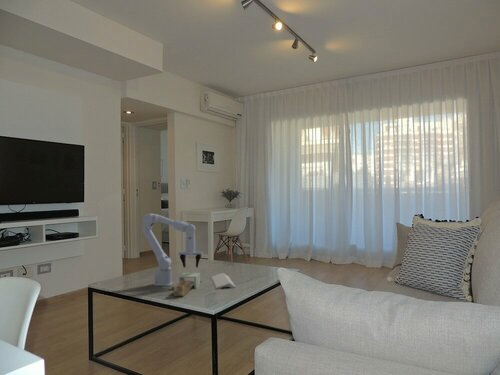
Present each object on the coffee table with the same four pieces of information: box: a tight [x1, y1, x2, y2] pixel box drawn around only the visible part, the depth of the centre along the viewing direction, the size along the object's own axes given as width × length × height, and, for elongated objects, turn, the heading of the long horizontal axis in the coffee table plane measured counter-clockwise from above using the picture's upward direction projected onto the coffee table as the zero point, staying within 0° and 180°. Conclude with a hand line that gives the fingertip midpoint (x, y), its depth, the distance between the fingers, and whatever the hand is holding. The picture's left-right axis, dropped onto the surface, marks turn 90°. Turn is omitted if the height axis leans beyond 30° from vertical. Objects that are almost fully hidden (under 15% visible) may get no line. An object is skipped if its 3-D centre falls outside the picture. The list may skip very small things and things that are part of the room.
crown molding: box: [210, 272, 237, 290], centre depth 215 cm, size 29×12×4 cm, turn 12°
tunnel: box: [178, 272, 201, 289], centre depth 207 cm, size 10×10×7 cm
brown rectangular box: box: [173, 280, 191, 297], centre depth 191 cm, size 5×12×5 cm, turn 175°
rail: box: [175, 283, 194, 298], centre depth 199 cm, size 3×30×1 cm, turn 175°
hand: (190, 267), depth 213 cm, fingers open, 7 cm apart
